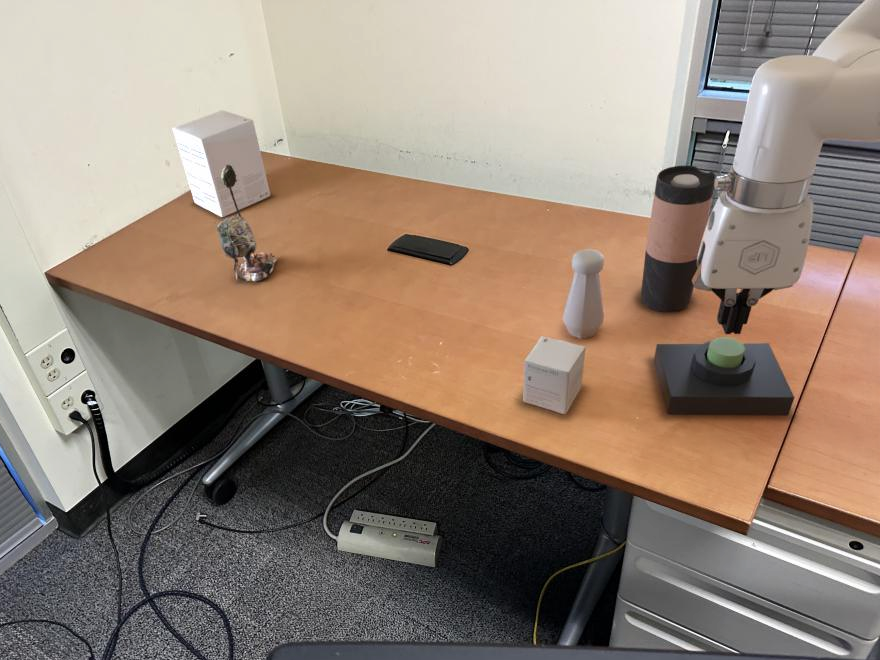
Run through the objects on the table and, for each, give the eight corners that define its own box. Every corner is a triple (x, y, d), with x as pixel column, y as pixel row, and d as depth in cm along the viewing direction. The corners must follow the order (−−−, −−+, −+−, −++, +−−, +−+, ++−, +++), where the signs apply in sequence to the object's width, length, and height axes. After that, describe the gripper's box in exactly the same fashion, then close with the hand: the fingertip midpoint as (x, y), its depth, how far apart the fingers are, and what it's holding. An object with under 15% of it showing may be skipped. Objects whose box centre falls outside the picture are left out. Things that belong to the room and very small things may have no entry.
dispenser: (763, 360, 93) (772, 330, 89) (788, 415, 84) (799, 384, 81) (653, 361, 95) (658, 331, 92) (667, 414, 87) (673, 384, 84)
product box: (521, 402, 92) (522, 359, 88) (539, 376, 96) (541, 334, 91) (566, 416, 89) (569, 372, 85) (582, 388, 93) (586, 345, 88)
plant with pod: (218, 282, 128) (186, 181, 116) (258, 254, 135) (233, 155, 122) (249, 292, 124) (220, 187, 111) (289, 262, 131) (266, 161, 118)
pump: (736, 349, 88) (740, 336, 87) (745, 369, 85) (748, 356, 84) (703, 350, 89) (706, 337, 88) (710, 369, 86) (713, 356, 85)
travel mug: (640, 312, 104) (658, 188, 92) (637, 286, 110) (654, 165, 97) (694, 314, 102) (721, 187, 90) (688, 286, 108) (713, 164, 95)
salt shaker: (607, 324, 103) (616, 247, 95) (596, 345, 100) (604, 267, 91) (568, 316, 106) (574, 241, 98) (556, 337, 102) (561, 260, 94)
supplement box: (241, 183, 164) (222, 108, 153) (271, 196, 156) (254, 118, 145) (193, 203, 158) (170, 127, 147) (222, 218, 150) (200, 139, 139)
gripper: (699, 204, 71) (670, 346, 83) (860, 198, 68) (807, 346, 80) (685, 174, 77) (659, 311, 88) (833, 167, 74) (787, 310, 85)
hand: (729, 327), depth 84 cm, fingers closed
